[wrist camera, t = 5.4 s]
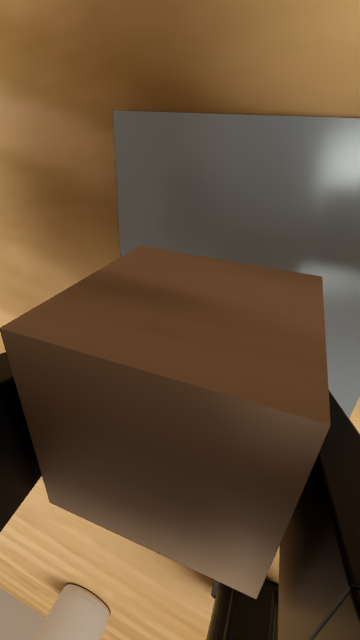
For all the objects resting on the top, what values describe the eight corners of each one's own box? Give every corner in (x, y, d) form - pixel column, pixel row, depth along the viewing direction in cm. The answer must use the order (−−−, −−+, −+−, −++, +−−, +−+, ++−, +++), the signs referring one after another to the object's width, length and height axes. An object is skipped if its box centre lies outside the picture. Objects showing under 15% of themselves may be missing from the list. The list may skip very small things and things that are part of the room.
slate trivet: (346, 407, 16) (348, 419, 15) (132, 349, 19) (125, 356, 18) (474, 123, 9) (486, 122, 9) (122, 111, 13) (112, 110, 12)
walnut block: (279, 418, 10) (256, 599, 6) (142, 377, 12) (49, 502, 8) (322, 276, 8) (331, 425, 4) (140, 246, 9) (-1, 328, 5)
